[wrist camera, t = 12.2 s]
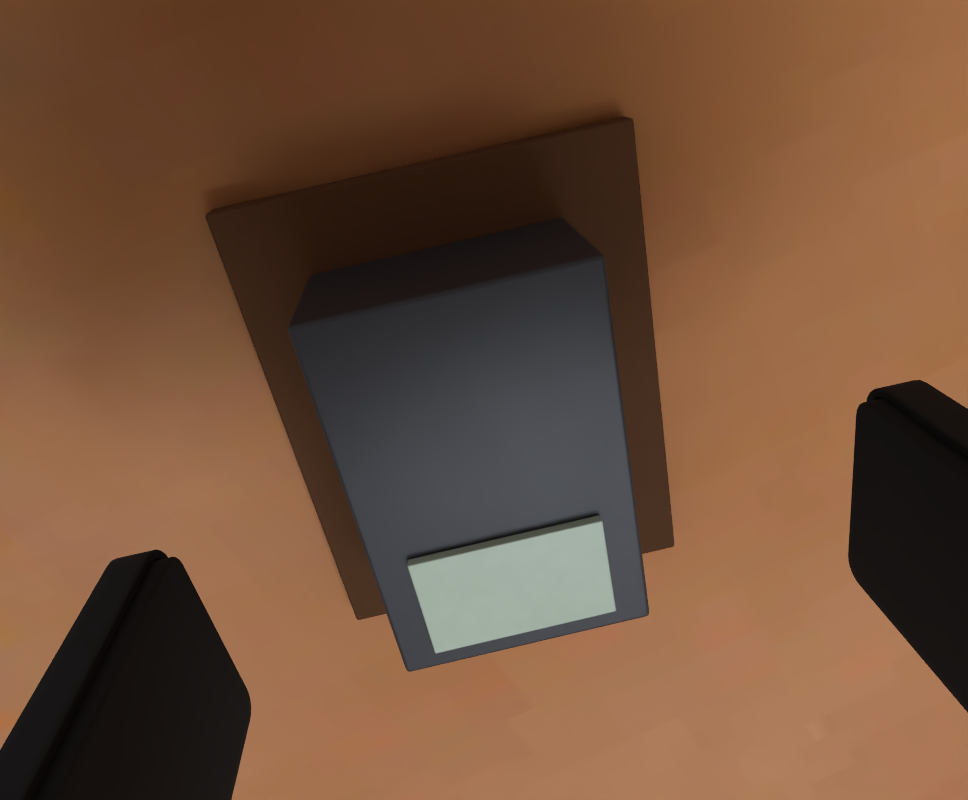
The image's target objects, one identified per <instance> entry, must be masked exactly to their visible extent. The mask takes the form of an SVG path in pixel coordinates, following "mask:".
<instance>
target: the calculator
mask: <svg viewBox="0 0 968 800" xmlns="http://www.w3.org/2000/svg"><path fill="white" fill-rule="evenodd" d="M288 333H289V336H290V339H291V341H292V344H293V347H294V350H295V353H296V356H297V359H298V361H299V364H300V367H301V370H302V373H303V376H304V379H305V381H306V384H307V387H308V390H309V393H310V396H311V399H312V401H313V404H314V407H315V410H316V413H317V416H318V419H319V422H320V424H321V427H322V430H323V433H324V436H325V439H326V442H327V444H328V447H329V450H330V453H331V456H332V459H333V462H334V464H335V467H336V470H337V473H338V476H339V479H340V482H341V484H342V487H343V490H344V493H345V496H346V499H347V502H348V504H349V507H350V510H351V513H352V516H353V519H354V522H355V524H356V527H357V530H358V533H359V536H360V539H361V542H362V544H363V547H364V550H365V553H366V556H367V559H368V562H369V564H370V567H371V570H372V573H373V576H374V579H375V582H376V584H377V587H378V590H379V593H380V596H381V599H382V602H383V604H384V607H385V610H386V613H387V616H388V619H389V622H390V624H391V627H392V630H393V633H394V636H395V639H396V642H397V644H398V647H399V650H400V653H401V656H402V659H403V662H404V664H405V667H406V669H407V671H415V670H419V669H423V668H427V667H432V666H436V665H440V664H444V663H449V662H453V661H457V660H461V659H466V658H470V657H474V656H479V655H483V654H487V653H491V652H496V651H500V650H504V649H508V648H513V647H517V646H521V645H525V644H530V643H534V642H538V641H542V640H547V639H551V638H555V637H559V636H564V635H568V634H572V633H576V632H581V631H585V630H589V629H593V628H598V627H602V626H606V625H610V624H615V623H619V622H623V621H627V620H632V619H636V618H640V617H645V616H647V615H648V614H649V607H648V599H647V591H646V583H645V575H644V567H643V559H642V551H641V543H640V535H639V527H638V519H637V511H636V503H635V495H634V487H633V479H632V471H631V463H630V455H629V447H628V439H627V431H626V423H625V415H624V407H623V399H622V391H621V383H620V375H619V367H618V359H617V351H616V343H615V335H614V327H613V319H612V311H611V303H610V295H609V287H608V279H607V271H606V263H605V257H604V256H603V254H602V253H601V252H600V251H598V250H597V249H596V248H595V247H594V246H593V245H592V244H591V243H590V242H589V241H588V240H586V239H585V238H584V237H583V236H582V235H581V234H580V233H579V232H578V231H577V230H576V229H575V228H573V227H572V226H571V225H570V224H569V223H568V222H567V221H566V220H565V219H563V218H559V219H555V220H550V221H546V222H541V223H537V224H533V225H528V226H524V227H519V228H515V229H511V230H506V231H502V232H498V233H493V234H489V235H484V236H480V237H476V238H471V239H467V240H463V241H458V242H454V243H449V244H445V245H441V246H436V247H432V248H427V249H423V250H419V251H414V252H410V253H406V254H401V255H397V256H392V257H388V258H384V259H379V260H375V261H371V262H366V263H362V264H357V265H353V266H349V267H344V268H340V269H335V270H331V271H327V272H322V273H318V274H314V275H311V276H310V277H309V279H308V281H307V284H306V286H305V288H304V291H303V293H302V295H301V298H300V300H299V302H298V305H297V307H296V309H295V312H294V314H293V316H292V319H291V321H290V323H289V326H288Z"/></svg>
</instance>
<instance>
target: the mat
mask: <svg viewBox="0 0 968 800" xmlns="http://www.w3.org/2000/svg"><path fill="white" fill-rule="evenodd" d="M559 218H563V219H565V220H566V221H567V222H568V223H569V224H570V225H571V226H572V227H573V228H575V229H576V230H577V231H578V232H579V233H580V234H581V235H582V236H583V237H584V238H585V239H586V240H588V241H589V242H590V243H591V244H592V245H593V246H594V247H595V248H596V249H597V250H598V251H600V252H601V253H602V254H603V256H604V257H605V263H606V271H607V279H608V287H609V295H610V303H611V311H612V319H613V327H614V335H615V343H616V351H617V359H618V367H619V375H620V383H621V391H622V399H623V407H624V415H625V423H626V431H627V439H628V447H629V455H630V463H631V471H632V479H633V487H634V495H635V503H636V511H637V519H638V527H639V535H640V543H641V551H642V554H644V553H648V552H652V551H656V550H661V549H665V548H669V547H673V546H674V536H673V526H672V516H671V505H670V495H669V485H668V474H667V464H666V454H665V443H664V433H663V423H662V412H661V402H660V392H659V381H658V371H657V361H656V350H655V340H654V330H653V319H652V309H651V299H650V288H649V278H648V268H647V257H646V247H645V237H644V226H643V216H642V205H641V195H640V185H639V174H638V164H637V154H636V143H635V133H634V123H633V119H632V118H628V117H620V118H615V119H611V120H607V121H602V122H598V123H593V124H589V125H585V126H580V127H576V128H571V129H567V130H562V131H558V132H554V133H549V134H545V135H540V136H536V137H531V138H527V139H523V140H518V141H514V142H509V143H505V144H500V145H496V146H492V147H487V148H483V149H478V150H474V151H469V152H465V153H461V154H456V155H452V156H447V157H443V158H438V159H434V160H430V161H425V162H421V163H416V164H412V165H408V166H403V167H399V168H394V169H390V170H385V171H381V172H377V173H372V174H368V175H363V176H359V177H354V178H350V179H346V180H341V181H337V182H332V183H328V184H323V185H319V186H315V187H310V188H306V189H301V190H297V191H292V192H288V193H284V194H279V195H275V196H270V197H266V198H262V199H257V200H253V201H248V202H244V203H239V204H235V205H231V206H226V207H222V208H217V209H213V210H211V211H210V212H209V213H208V214H206V220H207V222H208V225H209V227H210V230H211V233H212V235H213V238H214V241H215V243H216V246H217V249H218V251H219V254H220V257H221V259H222V262H223V265H224V267H225V270H226V273H227V275H228V278H229V281H230V283H231V286H232V289H233V291H234V294H235V297H236V299H237V302H238V305H239V307H240V310H241V313H242V315H243V318H244V321H245V323H246V326H247V329H248V331H249V334H250V336H251V339H252V342H253V344H254V347H255V350H256V352H257V355H258V358H259V360H260V363H261V366H262V368H263V371H264V374H265V376H266V379H267V382H268V384H269V387H270V390H271V392H272V395H273V398H274V400H275V403H276V406H277V408H278V411H279V414H280V416H281V419H282V422H283V424H284V427H285V430H286V432H287V435H288V438H289V440H290V443H291V445H292V448H293V451H294V453H295V456H296V459H297V461H298V464H299V467H300V469H301V472H302V475H303V477H304V480H305V483H306V485H307V488H308V491H309V493H310V496H311V499H312V501H313V504H314V507H315V509H316V512H317V515H318V517H319V520H320V523H321V525H322V528H323V531H324V533H325V536H326V539H327V541H328V544H329V547H330V549H331V552H332V554H333V557H334V560H335V562H336V565H337V568H338V570H339V573H340V576H341V578H342V581H343V584H344V586H345V589H346V592H347V594H348V597H349V600H350V602H351V605H352V608H353V610H354V613H355V616H356V618H357V619H358V620H361V619H365V618H369V617H374V616H378V615H382V614H386V610H385V607H384V604H383V602H382V599H381V596H380V593H379V590H378V587H377V584H376V582H375V579H374V576H373V573H372V570H371V567H370V564H369V562H368V559H367V556H366V553H365V550H364V547H363V544H362V542H361V539H360V536H359V533H358V530H357V527H356V524H355V522H354V519H353V516H352V513H351V510H350V507H349V504H348V502H347V499H346V496H345V493H344V490H343V487H342V484H341V482H340V479H339V476H338V473H337V470H336V467H335V464H334V462H333V459H332V456H331V453H330V450H329V447H328V444H327V442H326V439H325V436H324V433H323V430H322V427H321V424H320V422H319V419H318V416H317V413H316V410H315V407H314V404H313V401H312V399H311V396H310V393H309V390H308V387H307V384H306V381H305V379H304V376H303V373H302V370H301V367H300V364H299V361H298V359H297V356H296V353H295V350H294V347H293V344H292V341H291V339H290V336H289V333H288V326H289V323H290V321H291V319H292V316H293V314H294V312H295V309H296V307H297V305H298V302H299V300H300V298H301V295H302V293H303V291H304V288H305V286H306V284H307V281H308V279H309V277H310V276H311V275H314V274H318V273H322V272H327V271H331V270H335V269H340V268H344V267H349V266H353V265H357V264H362V263H366V262H371V261H375V260H379V259H384V258H388V257H392V256H397V255H401V254H406V253H410V252H414V251H419V250H423V249H427V248H432V247H436V246H441V245H445V244H449V243H454V242H458V241H463V240H467V239H471V238H476V237H480V236H484V235H489V234H493V233H498V232H502V231H506V230H511V229H515V228H519V227H524V226H528V225H533V224H537V223H541V222H546V221H550V220H555V219H559Z"/></svg>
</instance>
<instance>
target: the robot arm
mask: <svg viewBox="0 0 968 800" xmlns="http://www.w3.org/2000/svg"><path fill="white" fill-rule="evenodd" d="M848 558H849V564H850V568H851V571H852V573H853V575H854V577H855V579H856V581H857V582H858V583H859V585H860V586H861V587H862V588H863V589H864V591H865V592H866V593H867V594H868V595H869V596H870V598H871V599H872V600H873V601H874V602H875V604H876V605H877V606H878V607H879V608H880V609H881V611H882V612H883V613H884V614H885V615H886V617H887V618H888V619H889V620H890V621H891V622H892V624H893V625H894V626H895V627H896V628H897V630H898V631H899V632H900V633H901V634H902V635H903V637H904V638H905V639H906V640H907V641H908V642H909V644H910V645H911V646H912V647H913V648H914V650H915V651H916V652H917V653H918V654H919V655H920V657H921V658H922V659H923V660H924V661H925V663H926V664H927V665H928V666H929V667H930V668H931V670H932V671H933V672H934V673H935V674H936V676H937V677H938V678H939V679H940V680H941V681H942V683H943V684H944V685H945V686H946V687H947V688H948V690H949V691H950V692H951V693H952V694H953V696H954V697H955V698H956V699H957V700H958V701H959V703H960V704H961V705H962V706H963V707H964V709H965V710H966V711H967V712H968V409H967V408H965V407H964V406H962V405H960V404H959V403H957V402H956V401H954V400H953V399H951V398H949V397H948V396H946V395H945V394H943V393H942V392H940V391H939V390H937V389H935V388H934V387H932V386H931V385H929V384H928V383H926V382H923V381H921V380H913V381H909V382H904V383H900V384H895V385H891V386H886V387H882V388H878V389H874V390H873V391H871V392H870V394H869V396H868V397H867V402H864V403H862V404H860V405H859V407H858V409H857V414H856V430H855V447H854V465H853V482H852V499H851V517H850V534H849V552H848ZM250 716H251V703H250V697H249V693H248V691H247V688H246V686H245V684H244V682H243V680H242V679H241V677H240V675H239V673H238V671H237V669H236V667H235V665H234V663H233V661H232V659H231V657H230V655H229V653H228V651H227V649H226V648H225V646H224V644H223V642H222V640H221V638H220V636H219V634H218V632H217V630H216V628H215V626H214V624H213V622H212V620H211V618H210V616H209V615H208V613H207V611H206V609H205V607H204V605H203V603H202V601H201V599H200V597H199V595H198V593H197V591H196V589H195V587H194V585H193V584H192V582H191V580H190V578H189V576H188V574H187V572H186V570H185V568H184V566H183V564H182V563H181V561H180V560H179V559H177V558H176V557H170V558H168V557H167V555H166V554H165V553H163V552H162V551H160V550H152V551H148V552H143V553H139V554H134V555H130V556H125V557H121V558H117V559H114V560H112V561H111V562H110V563H109V565H108V566H107V568H106V569H105V571H104V573H103V574H102V576H101V578H100V580H99V581H98V583H97V585H96V586H95V588H94V590H93V592H92V593H91V595H90V597H89V598H88V600H87V602H86V604H85V605H84V607H83V609H82V610H81V612H80V614H79V616H78V617H77V619H76V621H75V623H74V624H73V626H72V628H71V629H70V631H69V633H68V635H67V636H66V638H65V640H64V641H63V643H62V645H61V647H60V648H59V650H58V652H57V653H56V655H55V657H54V659H53V660H52V662H51V664H50V665H49V667H48V669H47V671H46V672H45V674H44V676H43V678H42V679H41V681H40V683H39V684H38V686H37V688H36V690H35V691H34V693H33V695H32V696H31V698H30V700H29V702H28V703H27V705H26V707H25V708H24V710H23V712H22V714H21V715H20V717H19V719H18V720H17V722H16V724H15V726H14V727H13V729H12V731H11V733H10V734H9V736H8V738H7V739H6V741H5V743H4V745H3V746H2V748H1V750H0V800H231V799H232V794H233V790H234V786H235V782H236V777H237V773H238V769H239V764H240V760H241V756H242V752H243V747H244V743H245V739H246V735H247V730H248V726H249V722H250Z"/></svg>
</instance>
